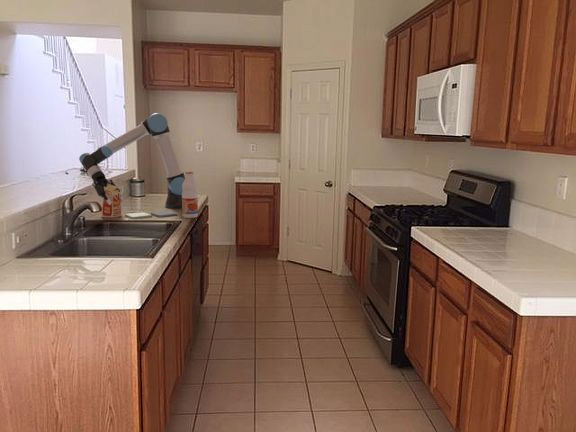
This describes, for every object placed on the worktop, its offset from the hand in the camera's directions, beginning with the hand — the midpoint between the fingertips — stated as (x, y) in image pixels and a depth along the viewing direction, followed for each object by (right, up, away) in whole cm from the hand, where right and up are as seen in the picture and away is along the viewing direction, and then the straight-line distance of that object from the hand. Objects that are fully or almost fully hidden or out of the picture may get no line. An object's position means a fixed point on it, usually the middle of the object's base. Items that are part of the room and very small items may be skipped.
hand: (116, 202), depth 294 cm
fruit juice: (+44, -9, +5) cm, 45 cm away
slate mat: (+26, -7, +10) cm, 29 cm away
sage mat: (+12, -8, +3) cm, 15 cm away
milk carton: (-3, -8, +3) cm, 9 cm away
